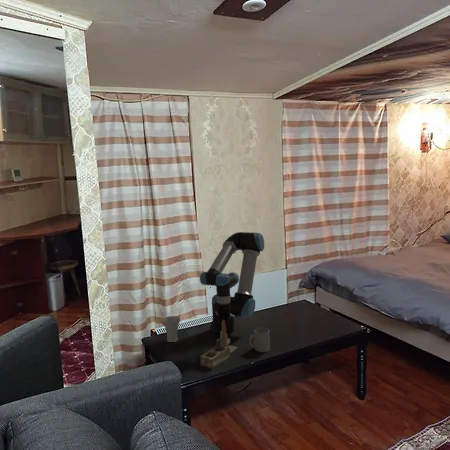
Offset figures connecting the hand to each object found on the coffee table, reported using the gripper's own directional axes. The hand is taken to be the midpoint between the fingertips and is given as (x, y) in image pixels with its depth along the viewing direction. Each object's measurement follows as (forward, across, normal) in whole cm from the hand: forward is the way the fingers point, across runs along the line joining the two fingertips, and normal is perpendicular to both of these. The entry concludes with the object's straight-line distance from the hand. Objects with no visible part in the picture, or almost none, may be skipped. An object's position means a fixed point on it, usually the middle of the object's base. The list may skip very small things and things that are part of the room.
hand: (225, 342), depth 231 cm
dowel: (+4, 0, 0) cm, 4 cm away
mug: (+4, +17, +9) cm, 19 cm away
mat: (+4, 0, 0) cm, 4 cm away
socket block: (+4, +3, -14) cm, 15 cm away
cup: (+4, -34, -6) cm, 35 cm away
